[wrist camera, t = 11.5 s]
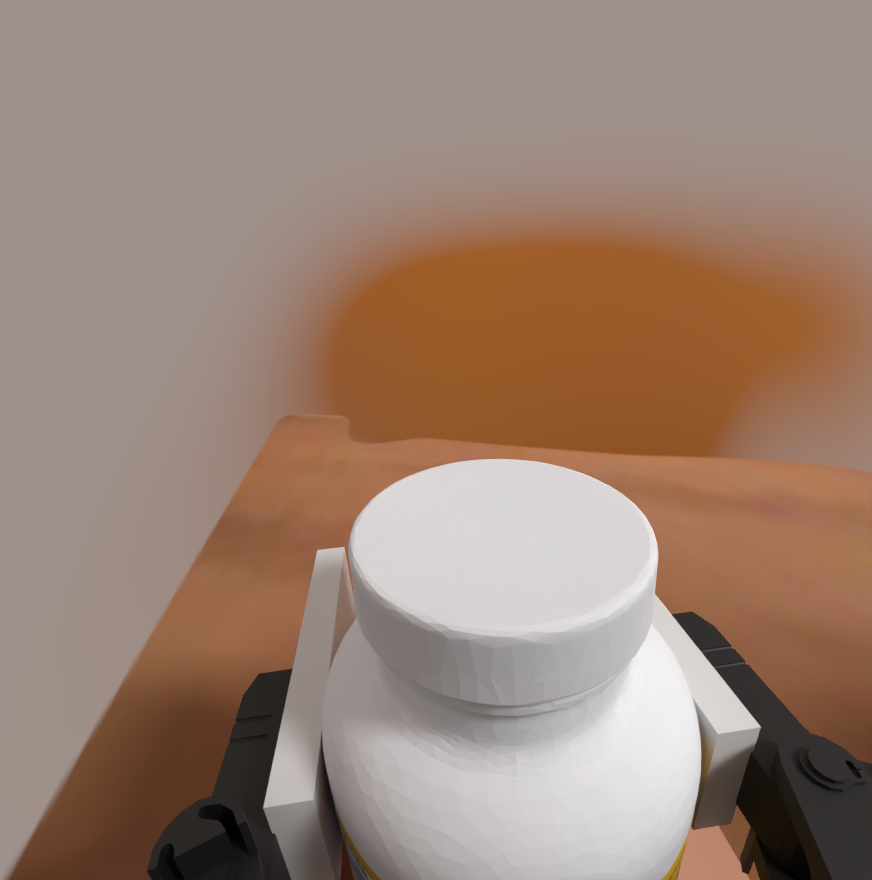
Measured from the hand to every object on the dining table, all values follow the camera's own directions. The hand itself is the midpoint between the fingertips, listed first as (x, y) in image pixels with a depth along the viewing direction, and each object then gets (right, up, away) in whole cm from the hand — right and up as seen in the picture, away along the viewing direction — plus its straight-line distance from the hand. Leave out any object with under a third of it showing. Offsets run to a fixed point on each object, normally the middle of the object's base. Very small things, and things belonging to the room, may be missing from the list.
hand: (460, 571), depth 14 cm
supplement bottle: (+1, -9, -1) cm, 9 cm away
